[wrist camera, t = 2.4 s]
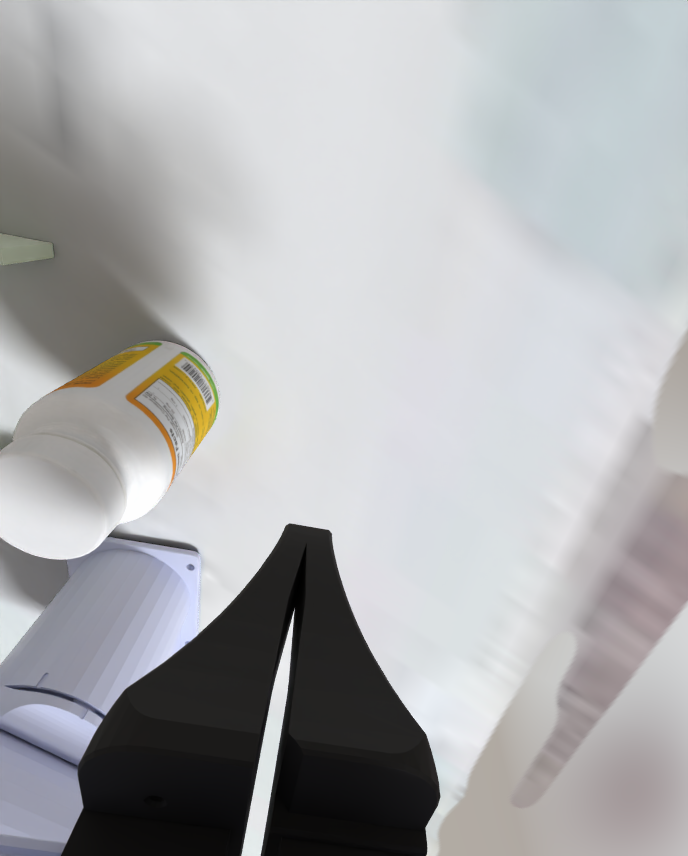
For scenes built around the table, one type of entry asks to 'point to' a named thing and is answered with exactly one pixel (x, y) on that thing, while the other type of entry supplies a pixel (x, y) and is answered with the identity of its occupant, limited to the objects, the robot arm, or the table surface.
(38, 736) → the robot arm
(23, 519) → the supplement bottle
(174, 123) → the table surface
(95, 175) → the table surface
